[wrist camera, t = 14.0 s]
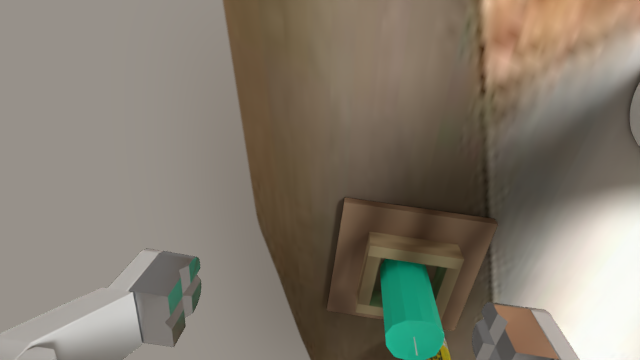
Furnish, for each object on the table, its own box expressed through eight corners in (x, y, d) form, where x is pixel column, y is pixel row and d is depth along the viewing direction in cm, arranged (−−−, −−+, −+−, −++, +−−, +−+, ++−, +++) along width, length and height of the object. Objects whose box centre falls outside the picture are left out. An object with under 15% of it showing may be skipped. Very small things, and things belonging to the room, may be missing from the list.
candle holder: (494, 218, 41) (507, 238, 37) (452, 323, 49) (459, 348, 45) (344, 197, 42) (343, 214, 38) (327, 304, 50) (325, 327, 46)
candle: (403, 296, 46) (417, 382, 35) (369, 272, 45) (373, 354, 34) (436, 270, 43) (462, 355, 33) (401, 244, 42) (416, 323, 32)
